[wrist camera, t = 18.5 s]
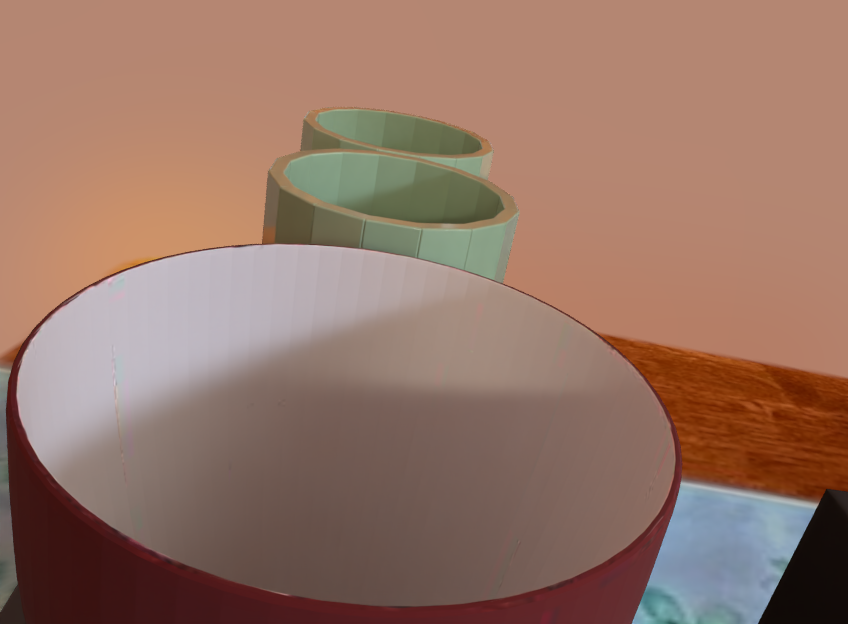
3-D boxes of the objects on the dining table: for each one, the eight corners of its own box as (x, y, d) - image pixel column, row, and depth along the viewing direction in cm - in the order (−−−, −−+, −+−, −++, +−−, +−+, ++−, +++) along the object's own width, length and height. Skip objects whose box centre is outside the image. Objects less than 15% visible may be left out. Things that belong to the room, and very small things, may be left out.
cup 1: (437, 353, 32) (484, 126, 28) (443, 438, 27) (502, 169, 22) (292, 332, 32) (316, 97, 28) (265, 415, 26) (291, 134, 22)
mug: (233, 535, 20) (261, 177, 16) (527, 617, 19) (641, 261, 15) (-80, 1036, 10) (-224, 466, 6) (480, 1240, 10) (758, 745, 5)
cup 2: (443, 442, 26) (503, 171, 22) (452, 577, 21) (535, 246, 16) (264, 418, 26) (290, 136, 22) (222, 549, 20) (246, 200, 16)
